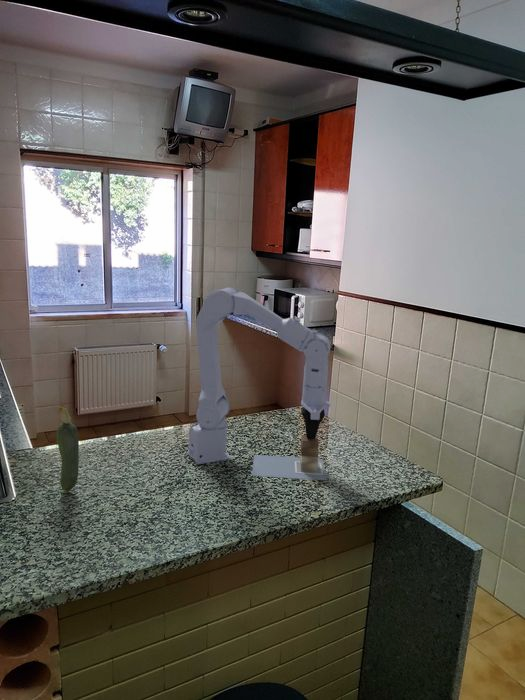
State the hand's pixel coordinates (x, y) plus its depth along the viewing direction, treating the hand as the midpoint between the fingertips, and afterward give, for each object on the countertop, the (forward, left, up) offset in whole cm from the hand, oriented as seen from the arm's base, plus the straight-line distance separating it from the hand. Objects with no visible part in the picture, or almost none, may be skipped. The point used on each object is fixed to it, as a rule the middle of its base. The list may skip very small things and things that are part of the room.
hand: (310, 437), depth 125 cm
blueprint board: (-4, +2, -9) cm, 10 cm away
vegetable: (-55, +10, -9) cm, 57 cm away
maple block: (0, 0, -8) cm, 8 cm away
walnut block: (0, 0, -4) cm, 4 cm away
